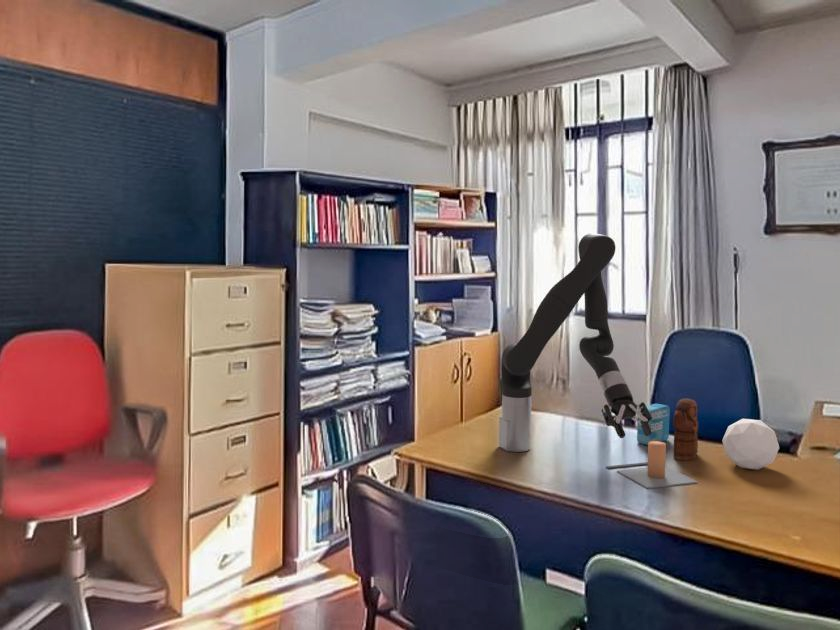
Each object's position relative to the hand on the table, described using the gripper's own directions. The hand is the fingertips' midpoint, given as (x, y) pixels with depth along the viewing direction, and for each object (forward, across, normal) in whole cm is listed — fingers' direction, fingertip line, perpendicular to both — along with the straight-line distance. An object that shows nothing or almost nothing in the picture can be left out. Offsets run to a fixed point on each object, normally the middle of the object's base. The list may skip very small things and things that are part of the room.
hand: (636, 435), depth 193 cm
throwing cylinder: (+13, +1, 0) cm, 13 cm away
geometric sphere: (+13, +33, 0) cm, 35 cm away
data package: (-8, +21, +22) cm, 31 cm away
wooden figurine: (+3, +21, +10) cm, 24 cm away
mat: (+12, +1, +1) cm, 12 cm away
